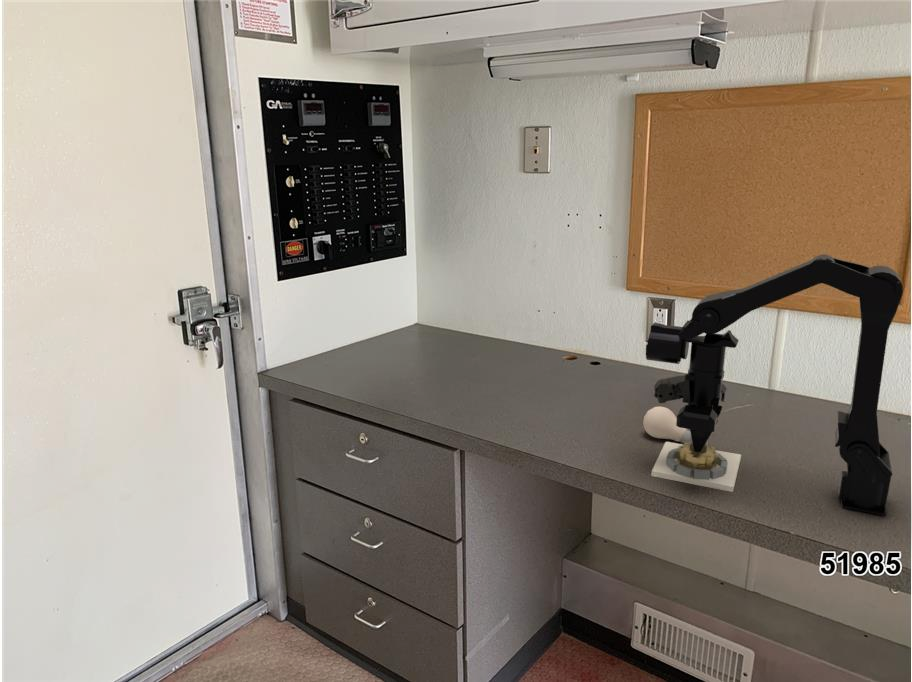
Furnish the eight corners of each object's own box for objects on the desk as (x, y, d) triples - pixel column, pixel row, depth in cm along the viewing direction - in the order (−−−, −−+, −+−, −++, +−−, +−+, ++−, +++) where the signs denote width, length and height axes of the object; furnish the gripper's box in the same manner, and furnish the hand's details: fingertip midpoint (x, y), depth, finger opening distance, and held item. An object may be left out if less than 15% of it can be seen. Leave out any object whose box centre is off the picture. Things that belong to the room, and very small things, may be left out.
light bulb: (706, 421, 142) (657, 395, 147) (691, 437, 137) (641, 409, 143) (697, 445, 145) (649, 419, 151) (682, 461, 141) (634, 433, 147)
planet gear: (718, 459, 132) (721, 426, 131) (713, 474, 127) (717, 440, 125) (680, 452, 135) (683, 420, 133) (674, 467, 130) (677, 433, 128)
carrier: (740, 459, 136) (742, 440, 135) (733, 492, 124) (735, 471, 123) (665, 446, 142) (667, 427, 141) (651, 475, 130) (652, 455, 129)
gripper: (669, 347, 137) (663, 422, 142) (649, 377, 121) (643, 460, 126) (730, 354, 132) (722, 432, 137) (718, 386, 116) (709, 473, 121)
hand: (698, 448), depth 130 cm, fingers closed on planet gear, 3 cm apart
